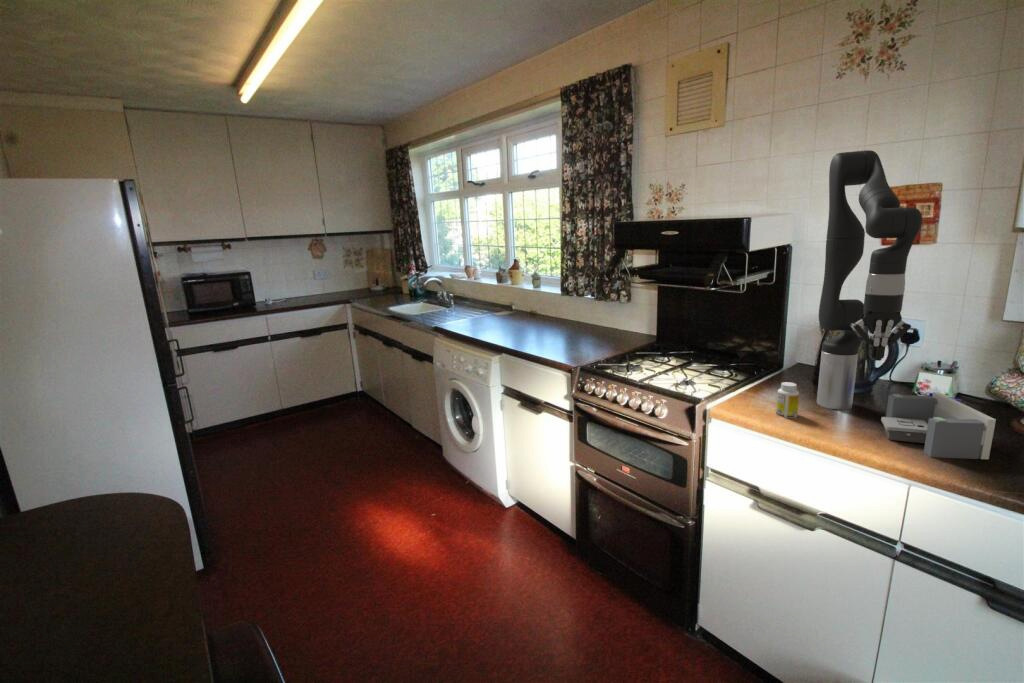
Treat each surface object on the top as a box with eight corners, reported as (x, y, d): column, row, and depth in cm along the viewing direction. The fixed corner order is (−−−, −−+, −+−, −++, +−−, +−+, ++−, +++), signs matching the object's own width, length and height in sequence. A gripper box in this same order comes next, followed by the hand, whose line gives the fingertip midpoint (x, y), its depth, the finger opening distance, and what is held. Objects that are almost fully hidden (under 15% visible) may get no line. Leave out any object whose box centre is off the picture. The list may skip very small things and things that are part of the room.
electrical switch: (934, 431, 118) (888, 420, 123) (928, 450, 120) (883, 439, 124) (926, 420, 126) (883, 410, 131) (920, 438, 128) (877, 428, 132)
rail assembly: (884, 425, 133) (889, 391, 131) (933, 426, 131) (939, 392, 129) (930, 457, 115) (936, 418, 112) (988, 459, 112) (996, 419, 110)
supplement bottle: (798, 415, 143) (801, 383, 141) (794, 421, 139) (797, 388, 137) (778, 411, 147) (780, 380, 144) (773, 417, 143) (776, 384, 140)
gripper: (905, 289, 119) (896, 356, 123) (846, 290, 122) (839, 356, 126) (925, 293, 112) (914, 364, 116) (861, 294, 115) (853, 363, 118)
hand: (875, 359), depth 121 cm, fingers closed
